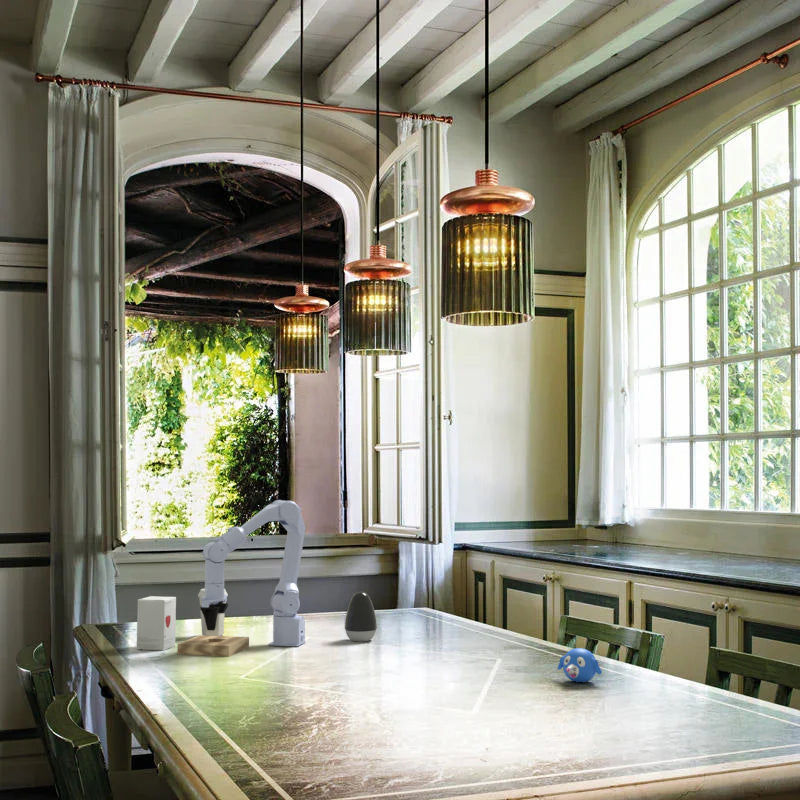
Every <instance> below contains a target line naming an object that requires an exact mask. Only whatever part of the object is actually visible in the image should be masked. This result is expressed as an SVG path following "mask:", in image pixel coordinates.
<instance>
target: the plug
mask: <svg viewBox="0 0 800 800" xmlns="http://www.w3.org/2000/svg"><path fill="white" fill-rule="evenodd" d="M222 634H223V635H224V634H225V616H224V613H218V614H217V619H216V627H215V630H207V626H206V635H214V636H219V635H222Z"/></svg>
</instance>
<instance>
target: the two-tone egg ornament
mask: <svg viewBox="0 0 800 800" xmlns="http://www.w3.org/2000/svg"><path fill="white" fill-rule="evenodd" d="M344 630H345V633H346V636H347V638H348V639H349V640H351V641H353V642H356V641H365V642H369V641H371V640H372V639H373V638H374V637H375V635H376V633H377V632H376V631H377V630H378V623H377V616H376V613H375V608H374V605H373V602H372V600H371V598H370V596H369V594H368V593H366V592H365V591H358V592H357V591H356V592H355V593H354V594H353V595H352V597H351V599H350V601H349V603H348V607H347V611H346V615H345V621H344Z"/></svg>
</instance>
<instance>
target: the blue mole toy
mask: <svg viewBox="0 0 800 800" xmlns="http://www.w3.org/2000/svg"><path fill="white" fill-rule="evenodd" d="M561 669H563V673H564V675H565V676H566V677H567V678H568V680H570V681H572V682H574V681H576V682H575V683H578V682H583V683H586V682H585V681H587V682H589V681H591V680H592V679H593V678H594V677H595V675H596V674H597V675H601V674H602V673H603V672H602V669H601V667H600V666H599V662H598V660H597V659H596V657H595V655H594V653H592V652H591V651H590V650H588V649H587V648H584V647H583V648H581V647H575V648H572V649H570V650H569V651H567V652H566V654H565V655H562V657H560V658H559V663H558V666H557V670H560V671H561Z"/></svg>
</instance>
